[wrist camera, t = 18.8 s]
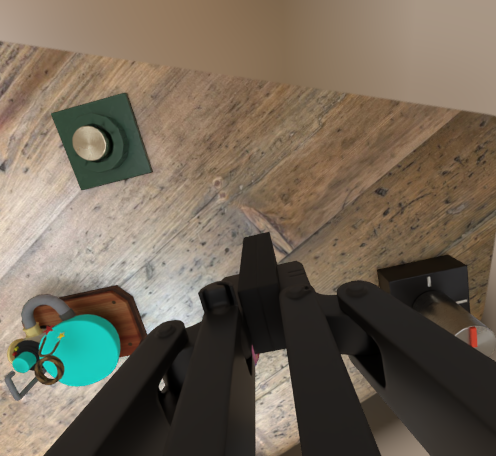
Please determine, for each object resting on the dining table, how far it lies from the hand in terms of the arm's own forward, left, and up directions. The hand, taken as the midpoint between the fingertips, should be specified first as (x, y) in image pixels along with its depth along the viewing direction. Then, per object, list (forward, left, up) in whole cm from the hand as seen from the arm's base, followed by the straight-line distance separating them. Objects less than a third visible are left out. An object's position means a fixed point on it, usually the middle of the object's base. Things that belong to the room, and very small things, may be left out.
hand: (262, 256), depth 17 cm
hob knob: (-19, +20, -20) cm, 34 cm away
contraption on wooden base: (+31, +13, -24) cm, 42 cm away
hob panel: (-19, +20, -24) cm, 37 cm away
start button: (+18, -11, -22) cm, 31 cm away
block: (+18, -11, -24) cm, 32 cm away
